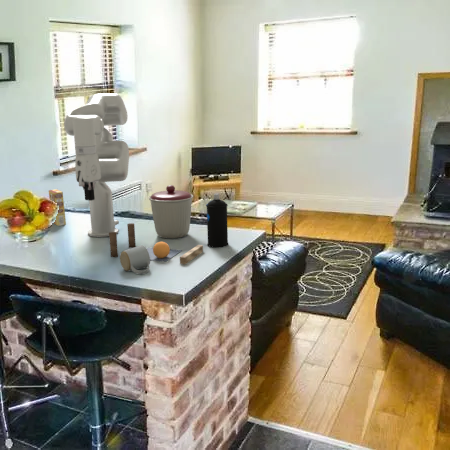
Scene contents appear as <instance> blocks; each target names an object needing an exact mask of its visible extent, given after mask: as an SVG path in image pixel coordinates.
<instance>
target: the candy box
mask: <svg viewBox="0 0 450 450" xmlns="http://www.w3.org/2000/svg"><path fill="white" fill-rule="evenodd" d="M48 197H49V198H48V199H49V201H50V200H52V201H54V202H55V203H57V204H58V205H59V210H58V214H57V216H56V220H55V222H54V223H53V224H54V225H56V227H59V226H60V227H61V226H65V225H67V221H66V220H67V219H66V211H65V202H64V193H63V191H61V190H59V189H58V188H57V189H49V190H48Z"/></svg>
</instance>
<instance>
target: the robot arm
mask: <svg viewBox="0 0 450 450" xmlns="http://www.w3.org/2000/svg"><path fill="white" fill-rule="evenodd" d="M127 121H128V110H127V108H126V105H125V101H124V100H123V98H122V96H121V95H119V94H118V93H95V94H92V95H90V97H88V99H87V101H86V103H85V104H83V105H81V106H78V107H76V108H73V109H72V110H70V111H68V113H67V115H66V116H65V119H64V127H63V128H64V130H65V132H66V134H67V135H69V136H71V137H72V136H73V137H74V150H75V153H74V154H75V163H74V164H75V165H74V167H75V178H76V182H78V186H79V187H82V189H83V191H84V192H83V193H84V199H85V200H84V201H88V202H89V203H88V204H89V214H90V226H91V229H90V230H88V231H87V234H88V236H89V237H93V238H105V237H109V232H116V235H118V234H119V229H118V228H117V227H116V226H117V225H119V223H120V221H119V220H117V219H115V217H114V214H115V213H114V202H113V201H114V200H113V192H112V189H111V188H110V187H109V185H108V184H107V183H109V182H124V181H125V180H126V179H127V178H128V173H129V161H130V149H129V146H128V144H127V142H125V140H124V141H123V140H114V137H113V135H112V133H111V132H110V131H109V130H108V129H107V128H106V127H105V126H123V125H125V124H126V123H127Z"/></svg>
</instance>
